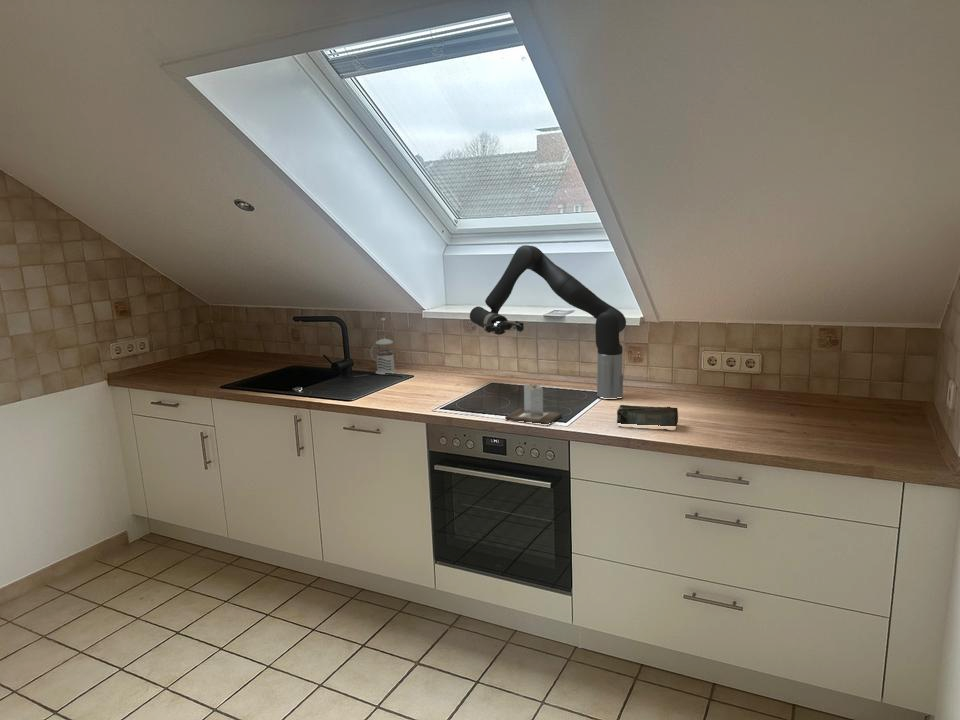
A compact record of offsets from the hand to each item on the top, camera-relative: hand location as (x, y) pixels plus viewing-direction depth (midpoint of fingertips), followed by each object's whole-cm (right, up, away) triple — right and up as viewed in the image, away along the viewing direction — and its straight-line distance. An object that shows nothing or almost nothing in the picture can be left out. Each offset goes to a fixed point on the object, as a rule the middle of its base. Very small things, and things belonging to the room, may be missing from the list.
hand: (510, 329), depth 251 cm
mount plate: (+7, -31, -13) cm, 35 cm away
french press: (-55, -17, +64) cm, 86 cm away
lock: (+7, -30, -13) cm, 34 cm away
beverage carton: (+44, -33, -24) cm, 60 cm away
